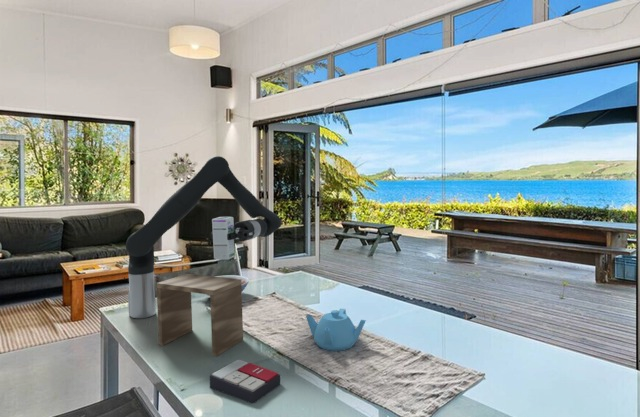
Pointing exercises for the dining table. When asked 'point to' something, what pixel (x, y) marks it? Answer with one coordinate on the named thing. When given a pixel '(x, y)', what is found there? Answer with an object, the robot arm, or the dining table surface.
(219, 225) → the syrup box
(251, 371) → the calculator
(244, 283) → the ramen bowl
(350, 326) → the teapot
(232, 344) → the cubby shelf
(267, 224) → the robot arm
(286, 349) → the dining table surface
